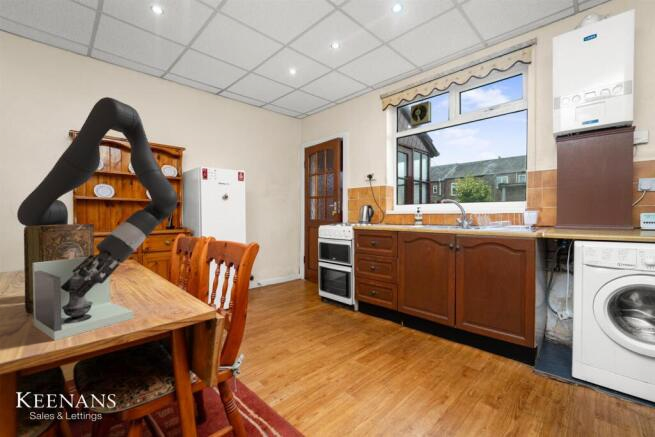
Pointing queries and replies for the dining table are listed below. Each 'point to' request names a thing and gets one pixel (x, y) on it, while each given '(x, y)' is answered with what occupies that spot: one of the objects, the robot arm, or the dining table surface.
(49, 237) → the book
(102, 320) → the shelf
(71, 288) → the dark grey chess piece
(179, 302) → the dining table surface
